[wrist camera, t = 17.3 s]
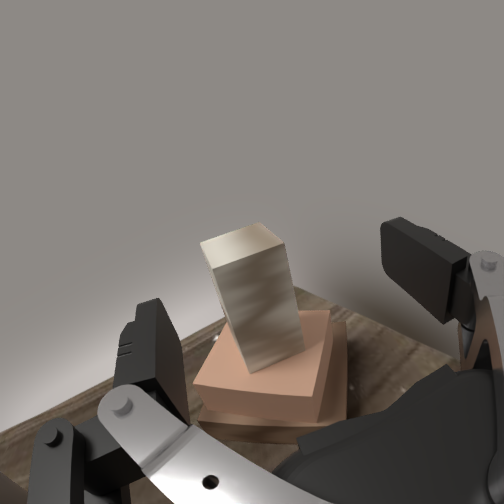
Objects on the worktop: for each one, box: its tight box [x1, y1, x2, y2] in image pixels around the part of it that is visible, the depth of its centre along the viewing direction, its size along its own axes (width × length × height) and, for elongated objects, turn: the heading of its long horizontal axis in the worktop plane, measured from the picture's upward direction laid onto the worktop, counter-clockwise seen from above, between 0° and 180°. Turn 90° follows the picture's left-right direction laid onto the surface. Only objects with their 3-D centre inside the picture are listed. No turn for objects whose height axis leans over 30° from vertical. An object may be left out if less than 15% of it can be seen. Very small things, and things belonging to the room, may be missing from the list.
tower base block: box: [197, 321, 348, 444], centre depth 30 cm, size 13×13×4 cm
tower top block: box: [193, 310, 333, 423], centre depth 28 cm, size 10×10×4 cm
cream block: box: [200, 222, 305, 374], centre depth 25 cm, size 5×5×10 cm
